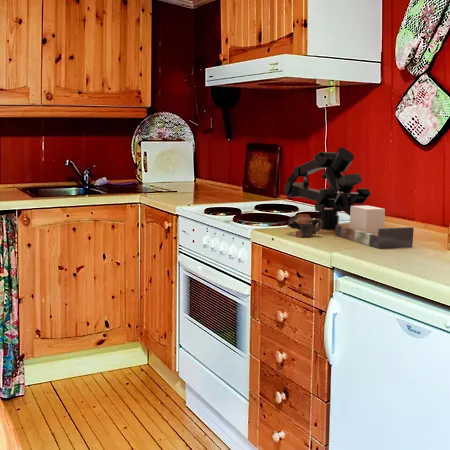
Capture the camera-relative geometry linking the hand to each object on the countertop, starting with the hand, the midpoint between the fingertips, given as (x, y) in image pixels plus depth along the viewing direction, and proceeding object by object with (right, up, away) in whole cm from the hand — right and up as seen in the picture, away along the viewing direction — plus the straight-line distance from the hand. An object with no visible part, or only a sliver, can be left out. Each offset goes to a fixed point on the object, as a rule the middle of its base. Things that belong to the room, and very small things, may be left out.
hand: (352, 215), depth 212 cm
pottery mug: (-17, -7, -3) cm, 18 cm away
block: (+3, -5, -7) cm, 9 cm away
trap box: (+4, -8, -9) cm, 13 cm away
